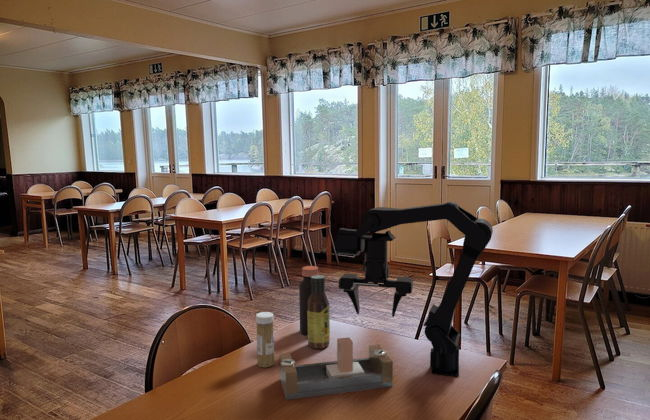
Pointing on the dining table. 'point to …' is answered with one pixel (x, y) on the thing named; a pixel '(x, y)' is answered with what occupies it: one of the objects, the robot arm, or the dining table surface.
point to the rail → (317, 383)
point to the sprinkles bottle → (265, 339)
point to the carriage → (344, 361)
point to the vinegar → (305, 295)
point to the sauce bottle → (318, 314)
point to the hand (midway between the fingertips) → (375, 315)
